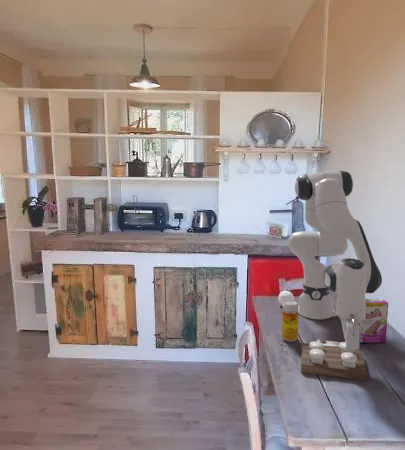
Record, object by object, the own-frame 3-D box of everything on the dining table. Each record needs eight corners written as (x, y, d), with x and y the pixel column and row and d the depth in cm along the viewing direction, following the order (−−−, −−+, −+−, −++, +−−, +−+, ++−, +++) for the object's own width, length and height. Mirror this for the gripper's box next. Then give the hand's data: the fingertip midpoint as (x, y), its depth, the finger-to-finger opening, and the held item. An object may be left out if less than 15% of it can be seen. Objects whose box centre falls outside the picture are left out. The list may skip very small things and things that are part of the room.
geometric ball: (290, 311, 184) (297, 302, 179) (275, 306, 184) (282, 297, 179) (289, 300, 190) (296, 290, 185) (275, 295, 190) (282, 285, 185)
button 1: (309, 351, 136) (309, 340, 135) (323, 352, 134) (323, 342, 134) (309, 357, 131) (309, 346, 130) (323, 359, 130) (324, 348, 129)
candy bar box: (358, 344, 142) (359, 303, 140) (352, 338, 147) (354, 298, 145) (386, 343, 143) (389, 302, 141) (380, 337, 148) (382, 297, 146)
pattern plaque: (317, 341, 145) (317, 339, 145) (341, 343, 143) (341, 341, 143) (317, 349, 139) (317, 347, 139) (343, 352, 136) (343, 350, 136)
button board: (302, 350, 138) (302, 343, 137) (360, 357, 132) (360, 349, 132) (300, 372, 123) (301, 364, 122) (366, 381, 117) (366, 372, 117)
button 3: (309, 359, 128) (309, 348, 127) (324, 360, 126) (324, 349, 126) (309, 366, 123) (309, 354, 123) (324, 368, 122) (324, 356, 121)
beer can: (286, 343, 144) (287, 306, 142) (279, 336, 150) (279, 301, 148) (300, 341, 146) (301, 304, 144) (292, 334, 152) (293, 299, 150)
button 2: (338, 352, 133) (339, 341, 132) (353, 353, 131) (353, 342, 131) (339, 358, 128) (340, 347, 127) (354, 360, 127) (355, 349, 126)
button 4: (340, 362, 125) (340, 351, 124) (355, 364, 124) (356, 353, 123) (341, 370, 120) (341, 358, 120) (357, 372, 119) (357, 360, 119)
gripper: (365, 323, 109) (363, 367, 110) (357, 300, 128) (356, 338, 130) (342, 321, 110) (341, 364, 112) (338, 299, 130) (337, 336, 132)
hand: (349, 350), depth 121 cm, fingers closed
